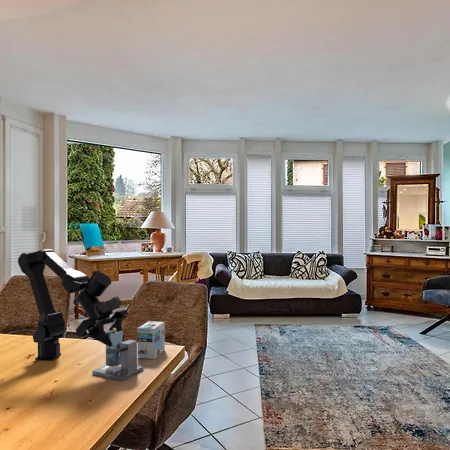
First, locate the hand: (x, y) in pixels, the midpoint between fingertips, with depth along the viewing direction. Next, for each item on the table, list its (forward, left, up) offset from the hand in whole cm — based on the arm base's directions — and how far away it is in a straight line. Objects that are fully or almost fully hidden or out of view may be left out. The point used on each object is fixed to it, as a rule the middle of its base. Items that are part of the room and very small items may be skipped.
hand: (117, 343), depth 123 cm
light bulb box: (+6, +18, -9) cm, 21 cm away
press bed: (-1, -2, -9) cm, 9 cm away
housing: (-1, +1, -7) cm, 7 cm away
